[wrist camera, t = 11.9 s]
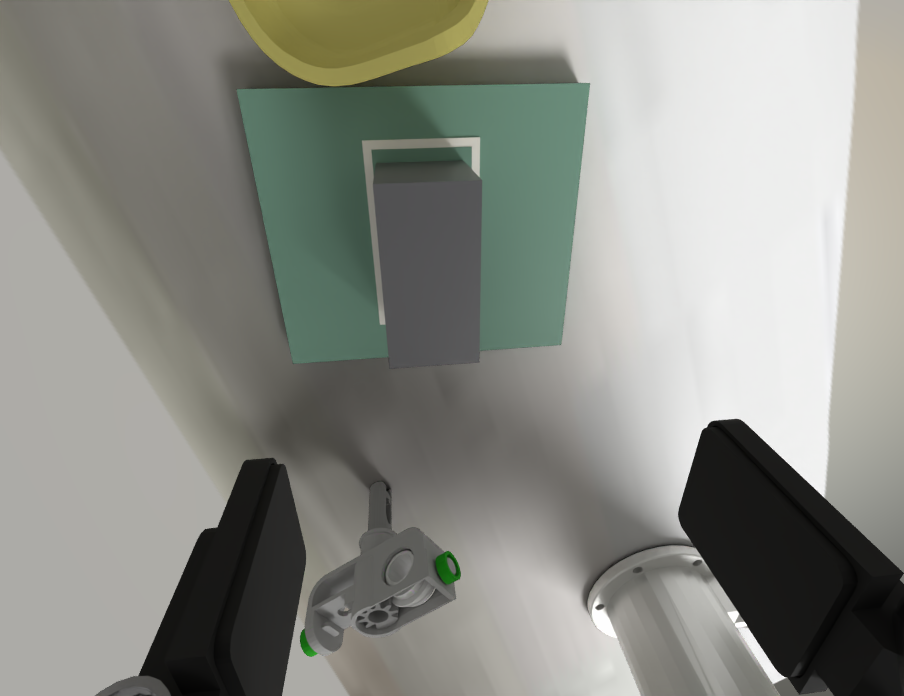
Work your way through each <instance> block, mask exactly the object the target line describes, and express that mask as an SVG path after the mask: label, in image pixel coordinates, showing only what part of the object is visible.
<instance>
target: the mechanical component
mask: <svg viewBox="0 0 904 696" xmlns="http://www.w3.org/2000/svg"><path fill="white" fill-rule="evenodd" d="M359 546H360V549H361V555H360V556H358V557H356V558H355V559H353V560H351V561H349V562H348V563H346V564H344V565H342V566H341V567H339V568H337V569H335V570H333V571H332V572H330V573H328V574H326V575H325V576H323V577H322V578H321V579H320V580H319V581H318V582H317V583H316V585H315V586H314V588H313V590H312V592H311V594H310V597H309V600H308V607H307V613H306V619H305V629H303V630H302V632H301V635H300V643H301V647H302V650H303V652H304V653H305V654H306V655H307V656H310V657H312V656H314V655H316V654H320V655H322V656H327V655H329V654H331V653H333V652H335V651H337V650H338V649H339V648H340V647H341V645H342V641H343V633H344V629H346V628H348V627H350V626H352V628H353V629H355V630H356V631H357V632H359V633H360V634H362V635H363V636H366V637H384V636H388V635H391V634H393V633H395V632H397V631H398V630H399V629H400V628H401V627H403V626H405V625H407V624H409V623H411V622H413V621H415V620H416V619H418V618H420V617H422V616H424V615H426V614H428V613H430V612H432V611H434V610H436V609H438V608H440V607H442V606H443V605H445V604H447V603H449V602H451V601H453V600H455V599H456V594H455V587H454V582H455V581H457V580H458V579H460V577H461V572H460V568H459V565H458V562H457V560H456V558H455V557H454V555H453V554H452V553H451V552H449V551H446V552H444V551H443V550H442V549H441V548H440V547H439V546H437V545H436V544H435V543H434V542H433V541H432V540H431V539H430V538H429V537H428V536H426V535H425V534H424V533H423V532H422V531H421V530H420V529H418V528H415V527H413V528H408V529H406V530H404V531H403V532H401V533H399V534H397V533H395V532H394V531H393V530H392V511H391V489H390V490H388V491H386V485H385V484H384V483H383V482H382V481H380V482H376V483H374V484H372V485H371V487H370V499H369V520H368V531H367V532H365V533H364V534H363V535H362V537H361V538H360V541H359ZM434 588H436V589H435V591H434V593H433V595H432V596H431V597H430V598H429V596H430V595H431V594H432V592H433V590H434ZM428 598H429V599H428ZM427 599H428V600H427ZM426 600H427V601H426ZM424 601H426V602H425V603H423V602H424ZM422 603H423V604H422ZM420 604H421V605H420ZM345 607H346V608H348V609H349V610H348V611H344V609H345Z"/></svg>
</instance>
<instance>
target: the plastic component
mask: <svg viewBox="0 0 904 696" xmlns="http://www.w3.org/2000/svg"><path fill="white" fill-rule="evenodd" d="M229 2H230V4H231V5H232V7H233V9H234V11H235V12H236V14H237V16H238V18H239V20H240V21H241V23H242V24H243V26H244V27H245V29H246V30H247V32H248V33H249V35H250V36H251V38H252V39H253V40H254V41H255V43H256V44H257V45H258V46H259V47H260V48H261V50H262V51H263V52H264V53H265V54H266V55H267V56H268V57H270V58H271V59H272V60H273V61H274V62H275V63H276V64H277V65H279V66H280V67H282V68H283V69H285V70H286V71H288V72H289V73H291V74H292V75H294V76H296V77H298V78H301V79H303V80H305V81H308V82H311V83H314V84H318V85H326V86H344V85H353V84H357V83H361V82H365V81H368V80H371V79H374V78H378V77H381V76H384V75H387V74H390V73H393V72H395V71H398V70H401V69H404V68H407V67H411V66H414V65H417V64H420V63H423V62H427V61H430V60H433V59H436V58H439V57H441V56H443V55H445V54H448V53H450V52H451V51H453V50H455V49H456V48H458V47H460V46H461V45H463V44H464V43H465V42H466V41H467V40H468V39H469V38H470V37H471V36H472V35H473V34H474V32H475V30H476V28H477V27H478V25H479V23H480V20H481V18H482V16H483V14H484V11H485V9H486V6H487V3H488V0H229Z"/></svg>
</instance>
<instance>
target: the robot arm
mask: <svg viewBox="0 0 904 696" xmlns="http://www.w3.org/2000/svg"><path fill="white" fill-rule="evenodd" d="M678 517H679V522H680V524H681V526H682V528H683V530H684V531H685V533H686V534H687V536H688V537H689V539H690V540H691V542H692V543H693V545H694V546H695V548H693V547H688V546H677V545H670V546H662V547H656V548H652V549H648V550H644V551H642V552H639V553H636V554H633V555H631V556H629V557H627V558H625V559H623V560H621V561H620V562H618V563H617V564H615V565H614V566H612V567H611V568H610V569H608V570H607V571H606V572H605V573H604V574H603V575H602V576H601V577H600V578H599V579H598V580H597V582H596V583H595V584H594V586H593V588H592V590H591V591H590V593H589V597H588V601H587V602H588V611H589V614H590V617H591V619H592V621H593V623H594V625H595V627H597V628H598V629H599V630H600V631H601V632H603V633H605V634H607V635H609V636H612V637H615V638H617V639H618V641H619V644H620V646H621V648H622V651H623V653H624V656H625V658H626V661H627V663H628V665H629V668H630V670H631V673H632V675H633V677H634V680H635V682H636V685H637V687H638V690H639V692H640V694H641V696H780V695H779V693H778V692H777V690H776V688H775V687H774V685H773V684H772V682H771V681H770V679H769V678H768V676H767V674H766V673H765V671H764V670H763V668H762V667H761V665H760V663H759V662H758V660H757V659H756V657H755V656H754V654H753V652H752V651H751V649H750V648H749V646H748V645H747V643H746V641H745V640H744V638H743V637H742V635H741V634H740V632H739V630H738V629H737V628H742V627H743V628H749V630H750V631H751V633H752V634H753V636H754V637H755V639H756V640H757V642H758V643H759V645H760V646H761V648H762V649H763V651H764V652H765V654H766V655H767V657H768V658H769V660H770V661H771V663H772V664H773V666H774V667H775V669H776V670H777V671H778V672H779V673H780V674H781V675H782V676H784V677H788V679H789V680H790V681H791V683H792V685H793V686H794V688H795V689H796V690H797V692H798V693H799V695H800V694H808V693H814V692H822V691H826V689H827V688H829V689H830V691H831V692H832V693H833V695H834V696H904V584H903V583H902V582H901V581H900V578H901V577H902V575H903V574H904V573H903V572H902V571H901V570H900V569H899V568H898V567H897V566H896V565H894V564H893V562H891V561H890V560H889V559H888V558H887V557H886V556H885V555H884V554H883V553H882V552H881V551H880V550H879V549H878V548H877V547H876V546H875V545H873V544H872V543H871V542H870V541H869V540H868V539H867V538H866V537H865V536H864V535H863V534H862V533H861V532H860V531H859V530H858V529H857V528H856V527H854V526H853V525H852V524H851V523H850V522H849V521H848V520H847V519H846V518H845V517H844V516H843V515H842V514H841V513H840V512H839V511H838V510H836V509H835V508H834V507H833V506H832V505H831V504H830V503H829V502H828V501H827V500H826V499H825V498H824V497H823V496H822V495H821V494H820V493H818V492H817V491H816V490H815V489H814V488H813V487H812V486H811V485H810V484H809V483H808V482H807V481H806V480H805V479H804V478H803V477H802V476H800V475H799V474H798V473H797V472H796V471H795V470H794V469H793V468H792V467H791V466H790V465H789V464H788V463H787V462H786V461H785V460H784V459H783V458H781V457H780V456H779V455H778V454H777V453H776V452H775V451H774V450H773V449H772V448H771V447H770V446H769V445H768V444H767V443H766V442H765V441H763V440H762V439H761V438H760V437H759V436H758V435H757V434H756V433H755V432H754V431H753V430H752V429H751V428H750V427H749V426H748V425H747V424H745V423H744V422H743V421H742V420H739V419H729V420H718V421H712V422H710V423H709V424H708V427H707V428H704V429H703V430H702V433H701V436H700V439H699V442H698V446H697V449H696V453H695V456H694V459H693V463H692V466H691V470H690V473H689V476H688V480H687V483H686V487H685V490H684V493H683V497H682V500H681V504H680V507H679V511H678ZM305 565H306V550H305V545H304V541H303V537H302V533H301V528H300V524H299V520H298V516H297V512H296V508H295V503H294V499H293V495H292V491H291V487H290V482H289V478H288V474H287V470H286V467H285V465H284V464H277V463H276V460H275V459H274V458H265V459H253V460H246V461H244V463H243V465H242V467H241V470H240V472H239V475H238V477H237V480H236V482H235V485H234V487H233V490H232V492H231V495H230V497H229V500H228V502H227V505H226V507H225V510H224V512H223V515H222V517H221V520H220V522H219V525H218V527H217V528H209V529H205V530H204V531H203V532H202V533H201V534H200V536H199V538H198V540H197V542H196V544H195V546H194V549H193V551H192V553H191V555H190V558H189V560H188V562H187V565H186V567H185V569H184V572H183V574H182V576H181V579H180V581H179V583H178V586H177V588H176V590H175V593H174V595H173V597H172V599H171V602H170V604H169V606H168V609H167V611H166V613H165V616H164V618H163V620H162V622H161V625H160V627H159V629H158V632H157V634H156V636H155V639H154V641H153V643H152V646H151V648H150V650H149V653H148V655H147V657H146V659H145V662H144V664H143V666H142V669H141V671H140V673H139V676H133V677H130V678H127V679H124V680H121V681H118V682H116V683H114V684H112V685H111V686H109V687H107V688H105V689H104V690H102V691H100V692H99V693H98V694H96V695H95V696H282V692H283V686H284V681H285V675H286V670H287V664H288V659H289V653H290V648H291V642H292V637H293V631H294V625H295V620H296V615H297V610H298V604H299V599H300V593H301V588H302V582H303V577H304V571H305Z"/></svg>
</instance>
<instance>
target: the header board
mask: <svg viewBox="0 0 904 696" xmlns="http://www.w3.org/2000/svg"><path fill="white" fill-rule="evenodd" d="M589 88H590V83H552V84H495V85H439V86H382V87H325V88H268V89H236V90H237V94H238V99H239V104H240V109H241V114H242V119H243V124H244V128H245V133H246V138H247V143H248V148H249V153H250V158H251V162H252V167H253V172H254V177H255V182H256V187H257V192H258V196H259V201H260V206H261V211H262V216H263V221H264V226H265V230H266V235H267V240H268V245H269V250H270V255H271V260H272V264H273V269H274V274H275V279H276V284H277V289H278V294H279V298H280V303H281V308H282V313H283V318H284V323H285V328H286V332H287V337H288V342H289V347H290V352H291V357H292V361H293V364H298V363H312V362H327V361H341V360H355V359H369V358H384V357H388V346H387V335H386V324H385V313H384V302H383V291H382V280H381V269H380V258H379V247H378V236H377V225H376V214H375V203H374V192H373V179H374V173H375V167H376V163H392V162H423V161H455V160H463V161H464V162H465V163H466V164H467V165H468V166H469V167H470V168H471V169H472V170H473V171H474V172H475V173H476V174H477V175H478V176H479V177H480V178H481V179H482V230H481V292H480V351H483V350H497V349H511V348H526V347H540V346H554V345H561V343H562V333H563V324H564V315H565V306H566V297H567V288H568V279H569V270H570V261H571V252H572V242H573V233H574V224H575V215H576V206H577V197H578V188H579V179H580V170H581V160H582V151H583V142H584V133H585V124H586V115H587V106H588V97H589Z"/></svg>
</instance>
